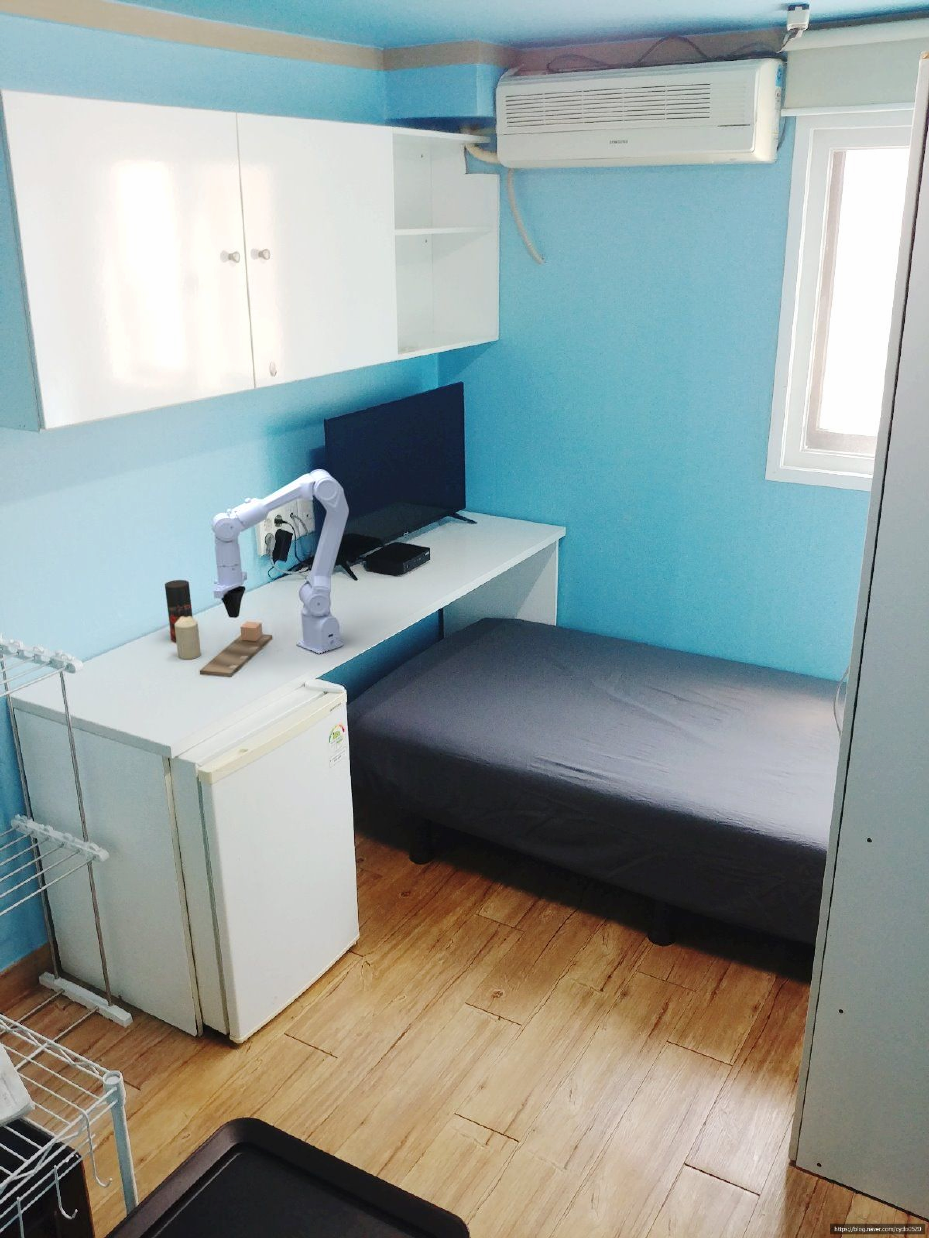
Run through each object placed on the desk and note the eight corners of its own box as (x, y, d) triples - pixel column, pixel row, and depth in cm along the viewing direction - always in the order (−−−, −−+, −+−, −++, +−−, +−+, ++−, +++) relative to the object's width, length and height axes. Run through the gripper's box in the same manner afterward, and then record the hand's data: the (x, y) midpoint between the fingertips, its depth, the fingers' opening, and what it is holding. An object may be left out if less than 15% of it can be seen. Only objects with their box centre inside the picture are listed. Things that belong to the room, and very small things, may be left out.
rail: (243, 636, 278) (243, 632, 278) (272, 638, 276) (272, 634, 276) (199, 674, 255) (199, 670, 255) (231, 677, 253) (230, 672, 253)
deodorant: (167, 638, 277) (160, 583, 272) (188, 632, 281) (182, 578, 275) (177, 644, 273) (171, 589, 268) (198, 639, 276) (193, 583, 271)
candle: (173, 656, 266) (169, 619, 262) (190, 649, 270) (186, 612, 266) (189, 661, 263) (184, 623, 259) (205, 654, 267) (201, 616, 263)
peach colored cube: (248, 634, 276) (246, 621, 274) (262, 635, 275) (261, 622, 274) (241, 639, 272) (240, 627, 271) (256, 641, 271) (255, 628, 270)
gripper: (226, 553, 265) (231, 605, 269) (199, 571, 251) (205, 626, 256) (252, 555, 263) (257, 607, 268) (227, 573, 250) (233, 628, 255)
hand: (233, 616), depth 262 cm, fingers closed
